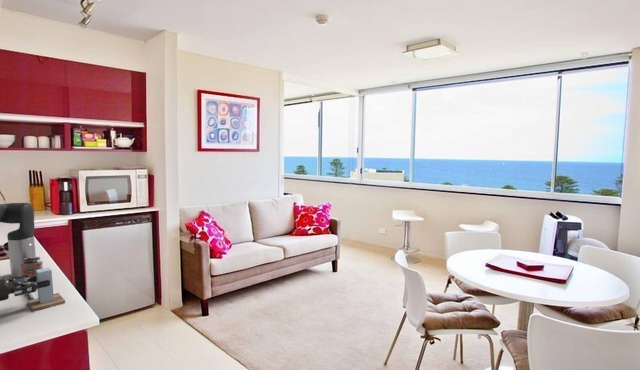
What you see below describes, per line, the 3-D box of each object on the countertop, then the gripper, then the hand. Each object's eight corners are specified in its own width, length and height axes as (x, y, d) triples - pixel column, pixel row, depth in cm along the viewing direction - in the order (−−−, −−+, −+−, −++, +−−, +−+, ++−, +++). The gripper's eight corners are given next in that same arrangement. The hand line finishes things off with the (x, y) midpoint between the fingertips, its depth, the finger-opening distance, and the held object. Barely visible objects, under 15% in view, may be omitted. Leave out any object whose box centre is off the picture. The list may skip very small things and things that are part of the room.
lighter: (20, 281, 157) (18, 259, 155) (24, 278, 160) (22, 256, 159) (41, 279, 159) (39, 257, 158) (45, 276, 162) (43, 255, 161)
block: (38, 300, 135) (35, 270, 134) (51, 297, 138) (48, 267, 137) (40, 303, 133) (38, 272, 131) (53, 300, 136) (51, 269, 134)
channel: (24, 289, 148) (24, 286, 148) (44, 284, 153) (43, 281, 152) (32, 301, 137) (32, 297, 137) (53, 295, 142) (53, 292, 142)
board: (27, 303, 135) (27, 300, 135) (58, 295, 142) (58, 292, 142) (33, 311, 129) (33, 308, 129) (65, 302, 136) (65, 300, 136)
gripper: (-10, 287, 118) (50, 274, 130) (-15, 277, 127) (42, 265, 139) (-7, 309, 119) (52, 294, 131) (-13, 297, 128) (43, 284, 140)
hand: (47, 279), depth 135 cm, fingers open, 8 cm apart
